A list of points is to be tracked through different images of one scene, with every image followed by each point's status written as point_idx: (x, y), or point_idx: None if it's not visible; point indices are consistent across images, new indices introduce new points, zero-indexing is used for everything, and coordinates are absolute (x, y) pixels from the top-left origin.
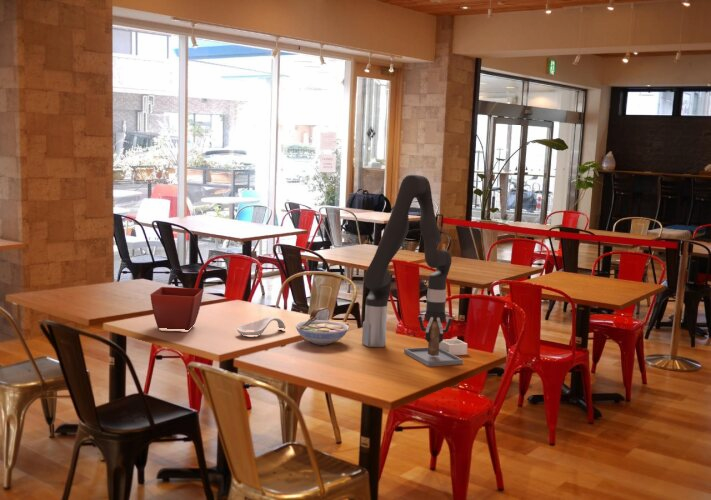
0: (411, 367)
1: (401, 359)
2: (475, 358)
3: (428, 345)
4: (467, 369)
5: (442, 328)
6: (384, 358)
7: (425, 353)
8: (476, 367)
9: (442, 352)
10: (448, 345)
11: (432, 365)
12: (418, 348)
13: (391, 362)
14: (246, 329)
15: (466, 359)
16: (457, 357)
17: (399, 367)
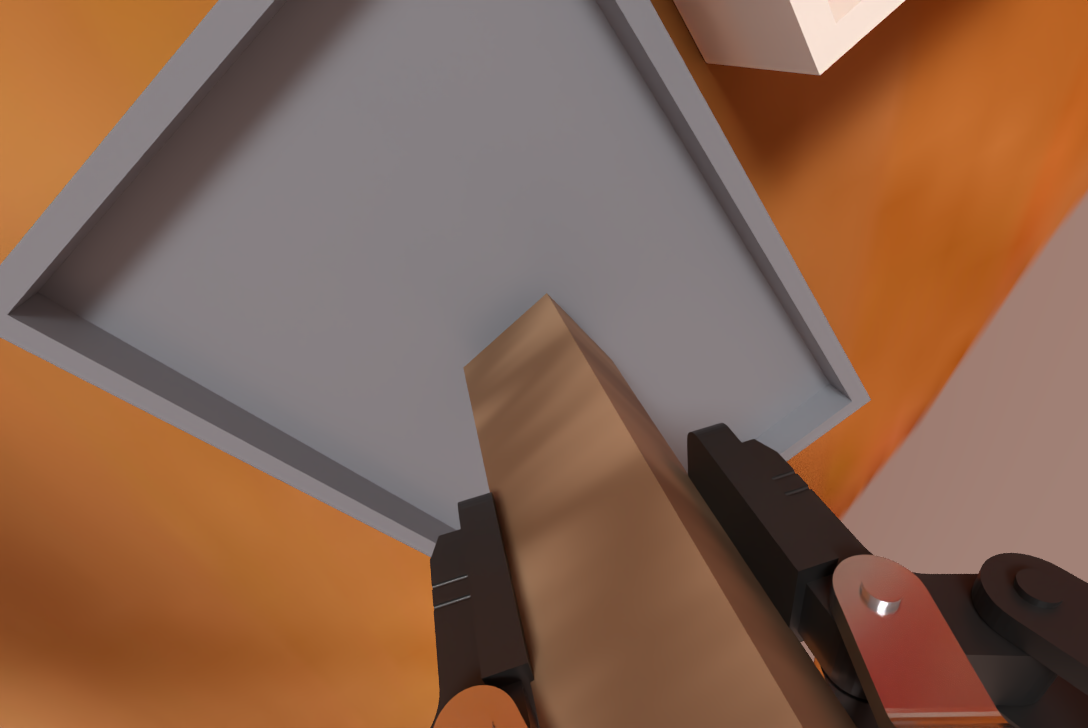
0: (435, 668)
1: (220, 557)
2: (1044, 34)
3: (486, 451)
4: (849, 485)
5: (955, 681)
6: (27, 626)
7: (378, 224)
8: (934, 400)
9: (626, 43)
10: (798, 55)
11: None
12: (168, 123)
13: (204, 671)
14: None
15: (916, 157)
16: (829, 353)
17: (351, 713)
